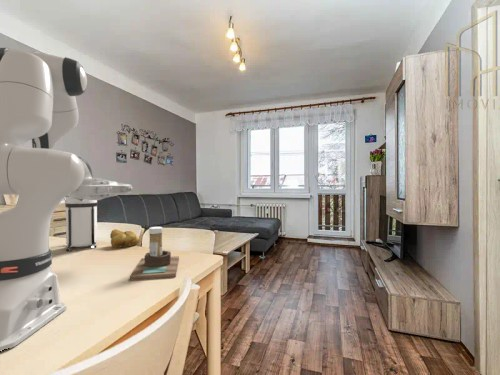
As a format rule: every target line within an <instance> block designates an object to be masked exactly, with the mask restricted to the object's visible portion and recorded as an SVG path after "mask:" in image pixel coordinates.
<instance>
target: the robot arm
mask: <svg viewBox="0 0 500 375" xmlns="http://www.w3.org/2000/svg"><path fill="white" fill-rule="evenodd" d="M87 86H88V77H87V74H86V72H85V69H84V67H83V65H82V64H81V63H80V62H79V61H77V60H76V59H73V58H69V57H67V56H65V57H61V56H58V55H53V54H50V53H49V54H48V53H43V52H39V51H34V50H25V49H15V48H14V49H11V48H10V47H0V196H1V195H4V196H7V195H12V196H13V195H17V196H18V200H17V203H16V205H15V206H14V207H12V208H10V209H6V210H4V211H2V212H0V351H1V350H4V349H7V350H9V349H8V348H10V349H13V348H14V347H16V346H17V345H19V344H20V343H22V342H23V341H24V340H26V339H28V337H29V338H30V336H31V335H33V334H34V333H35V332H37V331H39V329H41V328H42V327H44V326H45V325H46V324H48V323H49V322H51V321H52V320H53V319H55V318H56V317H58V316H59V315H61V313H63V312H65V311H66V310H67V305H66V303H64V302H62V301H61V297H60V295H61V294H60V286H59V280H58V279H59V276H58V275H57V274H56V273H55V272H54V271H53V270H52V267H51V266H52V264H53V262H52V261H53V260H52V259H53V255H52V249H50V229H51V222H52V218H53V215H54V212H55V210H56V208H57V207H58V206H59V204H60V203H61V202H62V201H63V200H64V199H66V198H65V197H66V196H68V197H71V198H74V199H88V200H97V201H102V200H104V199H107V198H111V197H117V196H119V195H121V196H122V195H129V194H132V193H133V191H134V188H133V186H132V184H130V183H129V184H128V183H124V182H118V181H117V180H116V181H114V180H107V179H104V178H100V177H99V178H98V177H93V171H92V168H91V166H90V164H89V163H88V162H87V160H85V159H84V158H82V157H80V156H78V155H76V154H75V153H74V152H73V153H72V152H68V151H64V150H60V149H59V150H58V149H54V148H55V146H57V143H58V142H59V141H60V140H61V139H62V138H63V137H65V136H67V134H69V133H70V132H71V131H73V130H74V129H75V128H76V127H77V125H78V123H79V118H80V115H79V107H78V103H77V99H76V97H79V96H81V95H83V94H84V93H85V92H86V88H87ZM29 141H31V145H32V147H24V146H23V145H25V144H26V143H28V142H29ZM22 146H23V147H22ZM4 351H5V350H4ZM1 352H2V351H1Z"/></svg>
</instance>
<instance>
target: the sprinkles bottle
mask: <svg viewBox="0 0 500 375" xmlns="http://www.w3.org/2000/svg"><path fill="white" fill-rule="evenodd" d="M163 230H164V229H163V227H162V226H150V227H149V228H148V234H149V241H148V242H149V247H148V248H149V252H150V256H152V257H158V256H162V251H163Z"/></svg>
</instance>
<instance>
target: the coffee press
mask: <svg viewBox="0 0 500 375" xmlns="http://www.w3.org/2000/svg"><path fill="white" fill-rule="evenodd" d="M64 199H65V204H64V206H65V241H66V242H65V244H66V245H67V247H66V249H65V250H66V252H71V251H72V250H73V249H75V248H82V247H90V248H91V249H92V250H94V249H96V248H97V242H98V241H97V240H98V200H88V199H74V198H71V197H68V196H66V197H65V198H64Z"/></svg>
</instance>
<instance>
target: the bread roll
mask: <svg viewBox="0 0 500 375" xmlns="http://www.w3.org/2000/svg"><path fill="white" fill-rule="evenodd" d="M109 237H110V244H111V247H113V248H116V249H117V248H122V247H123V248H124V247H125V248H127V247H131V246H135V245H138V244H139V243H140V242H141V241H140V237H139V236H137V234H136V233H135V232H133V231H131V230H130V231H121V230H119V229H113V230H111V232H110V236H109Z"/></svg>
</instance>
